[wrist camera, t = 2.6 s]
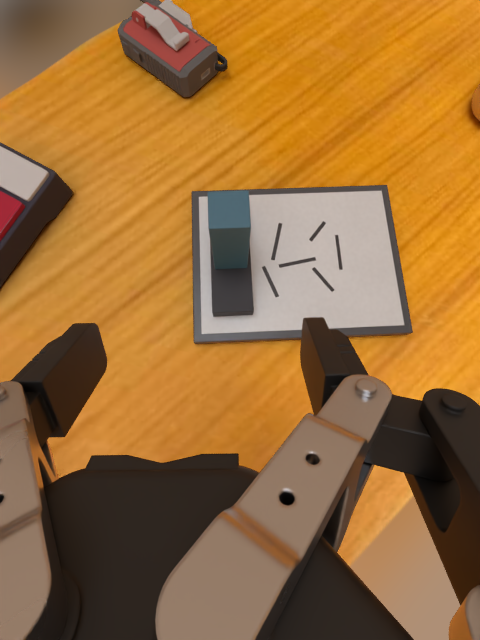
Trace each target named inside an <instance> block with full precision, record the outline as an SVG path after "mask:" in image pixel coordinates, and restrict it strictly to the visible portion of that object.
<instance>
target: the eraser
mask: <svg viewBox="0 0 480 640" xmlns="http://www.w3.org/2000/svg"><path fill="white" fill-rule="evenodd" d="M207 194H208V229H209V235H210V255H211V290H212V314H213V317H218V316H242V315H253V312H254V306H253V289H252V272H251V255H250V233H251V218H250V202H249V191H248V190H245V191H214V192H208V193H207Z"/></svg>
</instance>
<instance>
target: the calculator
mask: <svg viewBox="0 0 480 640" xmlns="http://www.w3.org/2000/svg"><path fill="white" fill-rule="evenodd" d="M72 193H73V192H72V190H71V189H70V188H69V187H68V186H67V184H66V183H65V182H64V181H63V180H62V179H61V178H60V177H59V176H58V174H57V173H56V172H55V171H53V170H51V169H49V168H48V167H46V166H44V165H42V164H40V163H38V162H36V161H34V160H32V159H31V158H29V157H27V156H25V155H23V154H21V153H19V152H17V151H15V150H14V149H12V148H10V147H8V146H6V145H4V144H2V143H0V287H1V286H2V285H3V283H4V282H5V280H6V279H7V278H8V276H9V275H10V273H11V272H12V271H13V269H14V268H15V266H16V265H17V264H18V262H19V261H20V259H21V258H22V257H23V255H24V254H25V253H26V251H27V250H28V248H29V247H30V246H31V244H32V243H33V241H34V240H35V239H36V237H37V236H38V234H39V233H40V232H41V230H42V229H43V228H44V226H45V225H46V223H47V222H49V221H51V220H53V219H54V218H56V216H57V215H58V214H59V212H60V211H61V210H62V208H63V207H64V205H65V204H66V203H67V201H68V200H69V198H70V197H71V196H72Z"/></svg>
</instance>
